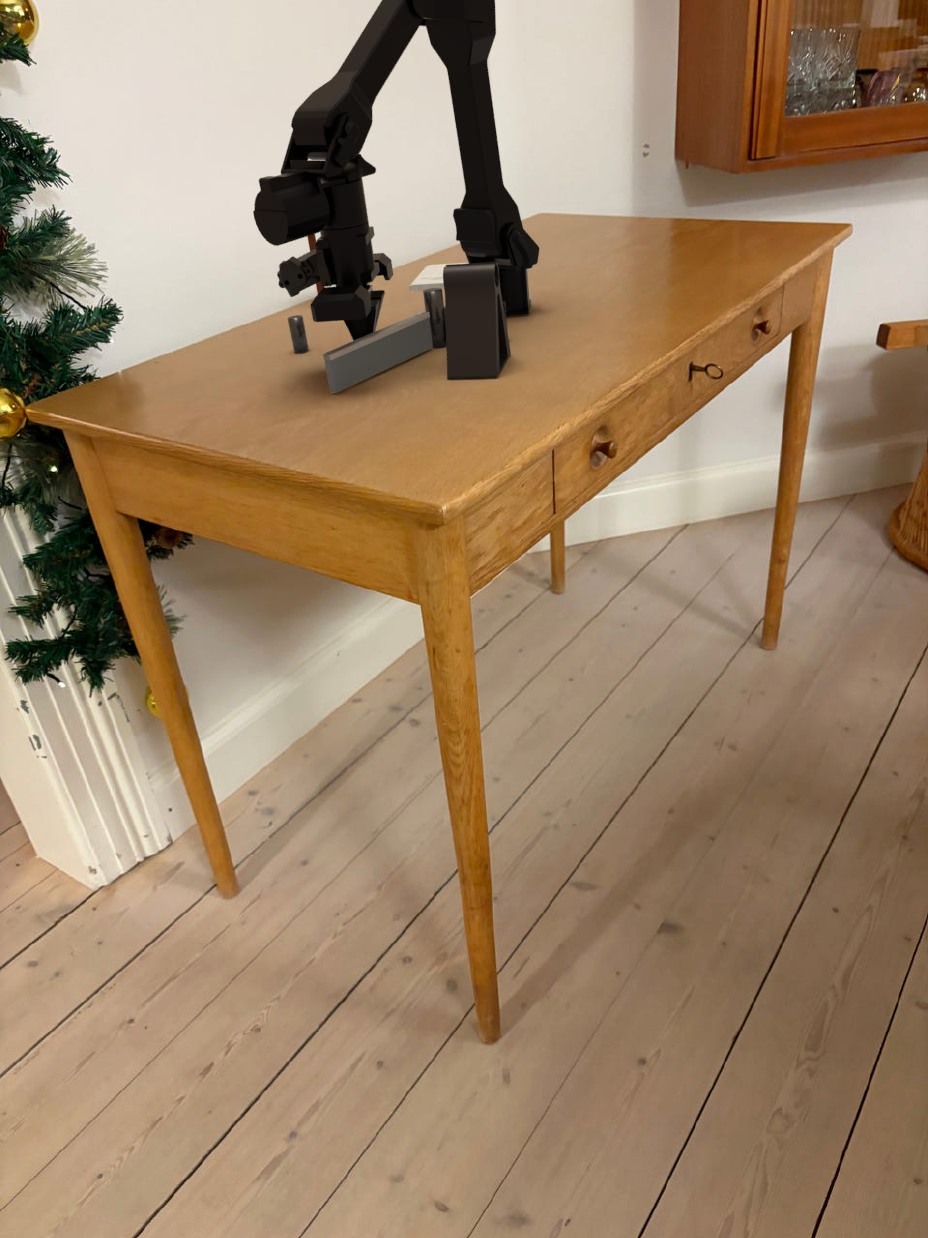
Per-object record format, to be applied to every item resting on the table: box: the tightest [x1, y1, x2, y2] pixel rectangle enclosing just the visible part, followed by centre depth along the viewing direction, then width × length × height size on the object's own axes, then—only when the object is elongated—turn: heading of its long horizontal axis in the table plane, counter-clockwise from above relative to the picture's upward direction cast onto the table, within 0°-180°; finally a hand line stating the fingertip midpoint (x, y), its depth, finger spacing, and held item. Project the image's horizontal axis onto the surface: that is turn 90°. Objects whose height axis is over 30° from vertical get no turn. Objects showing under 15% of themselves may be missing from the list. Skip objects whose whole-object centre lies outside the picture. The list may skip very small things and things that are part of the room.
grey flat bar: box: [322, 311, 434, 394], centre depth 120 cm, size 18×1×4 cm, turn 143°
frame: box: [287, 288, 509, 354], centre depth 127 cm, size 29×2×7 cm, turn 79°
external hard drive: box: [408, 262, 469, 292], centre depth 159 cm, size 2×8×12 cm
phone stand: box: [443, 262, 512, 381], centre depth 115 cm, size 9×6×12 cm, turn 167°
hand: (365, 356), depth 122 cm, fingers closed
